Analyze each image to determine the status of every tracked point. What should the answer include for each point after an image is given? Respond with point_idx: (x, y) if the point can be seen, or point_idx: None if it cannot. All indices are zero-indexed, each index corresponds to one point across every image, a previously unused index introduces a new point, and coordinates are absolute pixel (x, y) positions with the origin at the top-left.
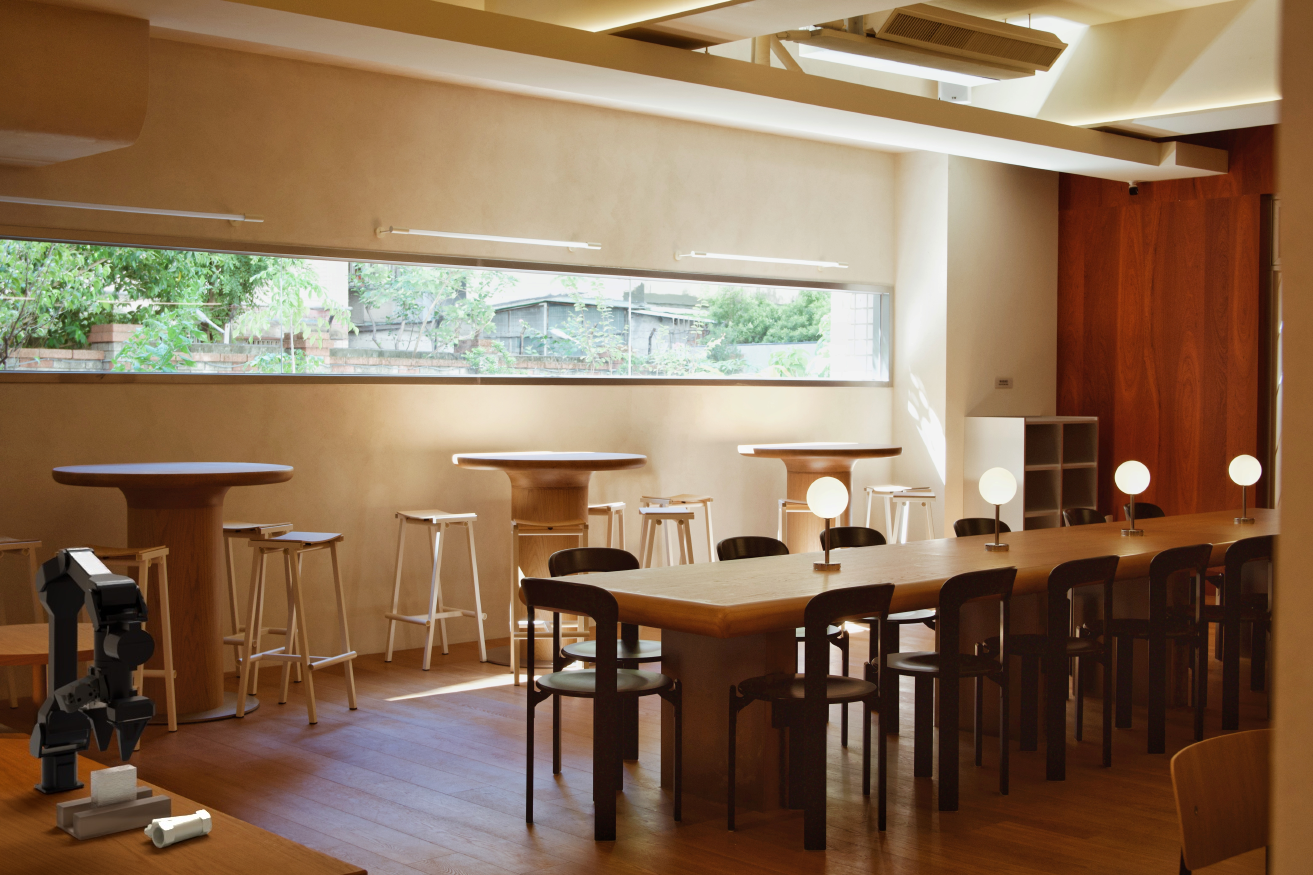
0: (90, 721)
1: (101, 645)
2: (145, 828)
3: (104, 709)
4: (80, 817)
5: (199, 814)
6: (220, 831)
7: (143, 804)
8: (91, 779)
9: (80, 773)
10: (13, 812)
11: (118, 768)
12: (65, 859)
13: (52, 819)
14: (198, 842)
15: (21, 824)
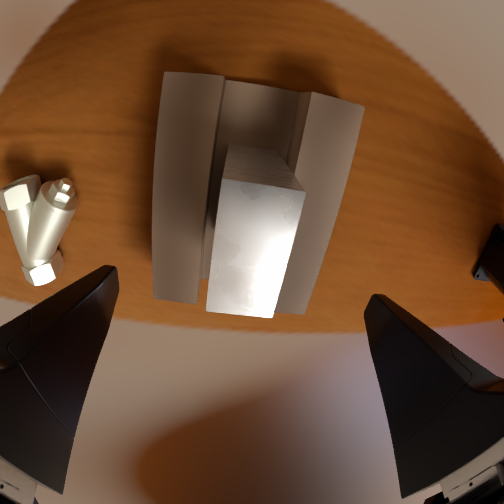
0: (485, 370)
1: None
2: (63, 183)
3: (447, 463)
4: (165, 72)
5: (26, 270)
6: None
7: (152, 240)
8: (293, 181)
9: (500, 298)
10: (478, 130)
11: (252, 275)
12: (87, 19)
13: (391, 130)
14: None
15: (413, 78)
